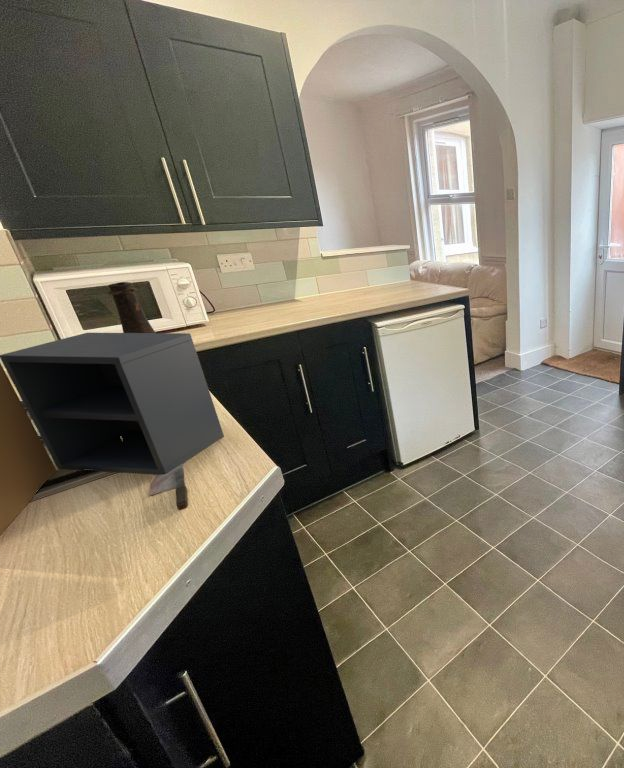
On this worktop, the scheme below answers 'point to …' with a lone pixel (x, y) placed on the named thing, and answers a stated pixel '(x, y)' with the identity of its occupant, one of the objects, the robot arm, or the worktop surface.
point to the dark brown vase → (129, 309)
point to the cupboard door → (18, 455)
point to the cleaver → (172, 485)
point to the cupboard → (117, 400)
